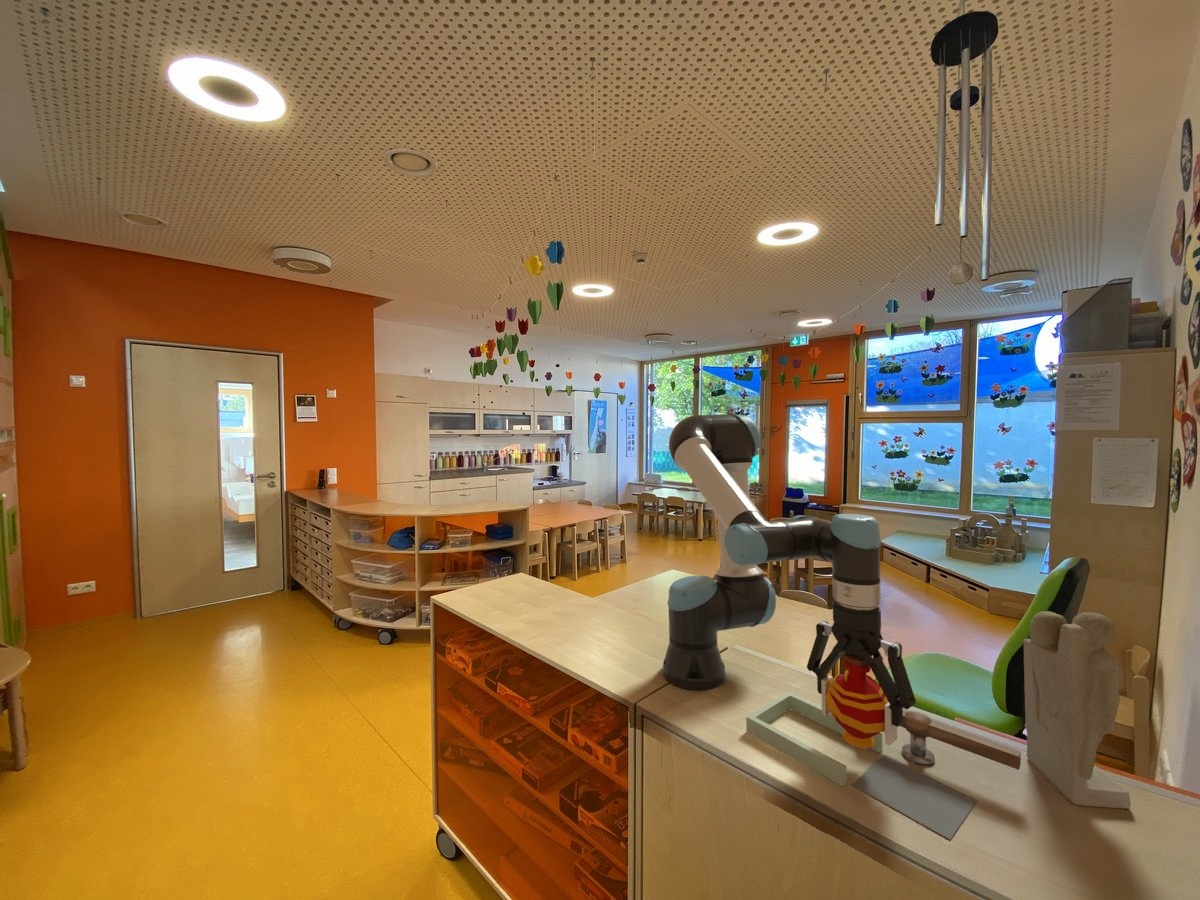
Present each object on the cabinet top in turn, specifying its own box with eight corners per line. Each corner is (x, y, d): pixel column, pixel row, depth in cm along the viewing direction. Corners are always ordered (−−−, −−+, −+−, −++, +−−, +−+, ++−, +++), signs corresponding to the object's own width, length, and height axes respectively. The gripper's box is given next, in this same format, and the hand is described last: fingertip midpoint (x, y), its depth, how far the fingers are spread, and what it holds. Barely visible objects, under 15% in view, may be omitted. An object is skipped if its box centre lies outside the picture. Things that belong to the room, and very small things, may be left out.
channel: (746, 731, 96) (746, 716, 96) (788, 704, 105) (788, 691, 105) (842, 786, 81) (842, 769, 81) (882, 749, 90) (882, 733, 89)
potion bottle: (846, 715, 93) (845, 638, 92) (903, 743, 84) (903, 659, 84) (813, 734, 87) (812, 653, 87) (870, 767, 79) (870, 676, 78)
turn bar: (1018, 773, 76) (1018, 759, 76) (860, 715, 93) (860, 702, 92) (1021, 761, 79) (1021, 747, 79) (867, 706, 95) (867, 694, 95)
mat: (851, 785, 81) (851, 784, 81) (883, 755, 88) (883, 754, 88) (950, 840, 70) (950, 839, 70) (977, 800, 77) (977, 799, 77)
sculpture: (1148, 825, 71) (1150, 626, 70) (1083, 817, 73) (1085, 623, 72) (1071, 758, 86) (1073, 592, 85) (1019, 753, 88) (1019, 590, 87)
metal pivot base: (897, 754, 88) (897, 730, 88) (908, 743, 91) (908, 720, 91) (928, 769, 84) (928, 744, 84) (939, 757, 87) (939, 733, 87)
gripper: (785, 591, 92) (787, 705, 93) (920, 628, 73) (921, 770, 74) (807, 583, 96) (808, 692, 97) (939, 616, 78) (940, 750, 79)
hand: (857, 726), depth 86 cm, fingers closed on potion bottle, 10 cm apart
